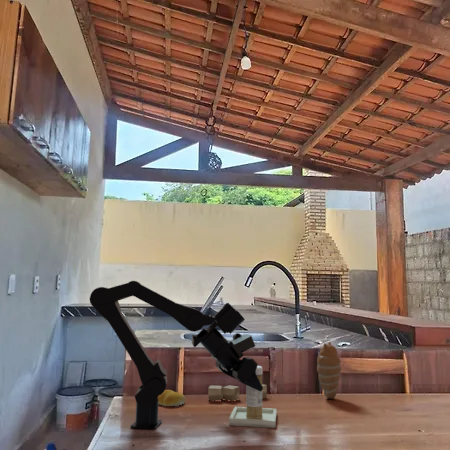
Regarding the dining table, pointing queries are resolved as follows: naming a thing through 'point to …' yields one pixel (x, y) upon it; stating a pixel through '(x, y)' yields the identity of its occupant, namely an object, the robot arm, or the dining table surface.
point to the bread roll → (171, 398)
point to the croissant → (329, 370)
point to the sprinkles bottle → (254, 398)
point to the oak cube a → (215, 393)
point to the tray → (240, 419)
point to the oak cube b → (230, 393)
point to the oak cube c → (264, 391)
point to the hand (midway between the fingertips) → (254, 386)
